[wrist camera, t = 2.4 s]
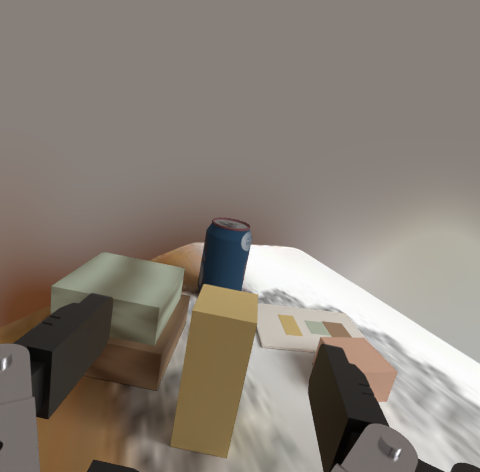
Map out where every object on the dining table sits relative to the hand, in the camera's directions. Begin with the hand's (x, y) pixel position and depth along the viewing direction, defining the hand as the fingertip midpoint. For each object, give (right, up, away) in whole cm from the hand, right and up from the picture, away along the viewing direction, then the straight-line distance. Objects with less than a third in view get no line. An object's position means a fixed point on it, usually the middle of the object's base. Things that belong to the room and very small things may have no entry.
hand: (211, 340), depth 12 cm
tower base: (-12, -8, +24) cm, 28 cm away
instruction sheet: (+11, -9, +34) cm, 37 cm away
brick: (+13, -13, +25) cm, 31 cm away
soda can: (-2, -6, +39) cm, 40 cm away
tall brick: (-2, -12, +15) cm, 20 cm away
